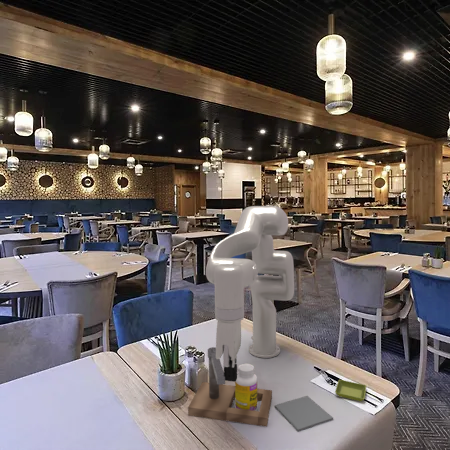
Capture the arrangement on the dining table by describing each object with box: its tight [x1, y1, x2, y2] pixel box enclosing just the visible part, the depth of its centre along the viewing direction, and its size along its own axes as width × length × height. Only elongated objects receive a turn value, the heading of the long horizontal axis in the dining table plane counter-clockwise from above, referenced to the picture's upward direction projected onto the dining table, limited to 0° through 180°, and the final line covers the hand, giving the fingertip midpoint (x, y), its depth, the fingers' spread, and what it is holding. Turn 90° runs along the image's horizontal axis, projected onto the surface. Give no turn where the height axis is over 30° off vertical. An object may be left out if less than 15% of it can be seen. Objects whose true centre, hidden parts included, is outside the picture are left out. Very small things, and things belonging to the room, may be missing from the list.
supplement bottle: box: [234, 363, 258, 411], centre depth 103 cm, size 7×7×13 cm
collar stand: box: [187, 358, 273, 427], centre depth 104 cm, size 23×14×15 cm, turn 76°
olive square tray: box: [334, 379, 367, 403], centre depth 110 cm, size 9×9×2 cm
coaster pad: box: [274, 395, 334, 432], centre depth 101 cm, size 12×12×1 cm
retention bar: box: [207, 346, 226, 385], centre depth 97 cm, size 18×4×2 cm, turn 9°
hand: (230, 379), depth 91 cm, fingers closed
